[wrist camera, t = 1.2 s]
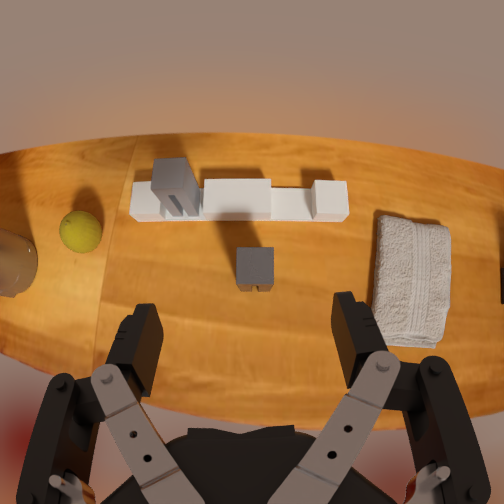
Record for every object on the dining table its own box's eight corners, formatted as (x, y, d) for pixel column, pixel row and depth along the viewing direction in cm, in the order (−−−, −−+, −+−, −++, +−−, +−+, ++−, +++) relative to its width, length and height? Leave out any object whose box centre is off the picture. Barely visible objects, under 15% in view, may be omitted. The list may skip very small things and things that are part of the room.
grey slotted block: (269, 291, 40) (273, 284, 31) (240, 291, 40) (236, 284, 31) (269, 263, 41) (273, 247, 31) (241, 263, 41) (236, 247, 31)
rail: (339, 191, 43) (361, 156, 33) (342, 221, 42) (366, 194, 32) (141, 191, 43) (113, 159, 33) (138, 221, 42) (106, 195, 32)
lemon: (85, 217, 43) (57, 200, 35) (115, 224, 42) (89, 206, 35) (74, 253, 42) (44, 241, 34) (104, 261, 41) (76, 250, 34)
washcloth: (362, 345, 39) (370, 347, 36) (373, 215, 43) (381, 209, 40) (435, 348, 39) (446, 349, 36) (441, 228, 42) (452, 223, 39)
